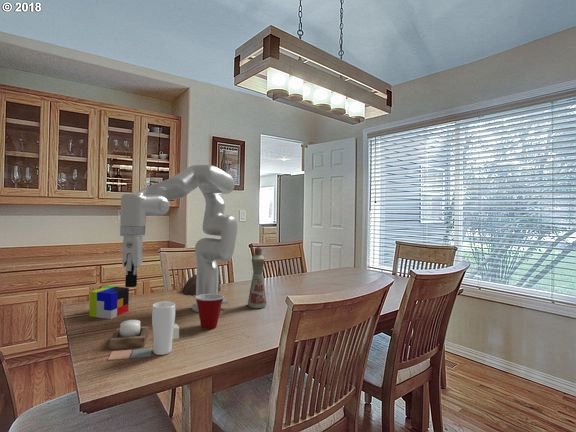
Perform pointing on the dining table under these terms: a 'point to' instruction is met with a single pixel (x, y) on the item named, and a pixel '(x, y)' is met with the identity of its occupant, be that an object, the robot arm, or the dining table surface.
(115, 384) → the dining table surface
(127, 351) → the pad
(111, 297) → the puzzle toy
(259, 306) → the bottle
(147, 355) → the pad mid
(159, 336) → the drinking glass
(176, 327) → the white cube
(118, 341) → the button frame
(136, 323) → the dome button
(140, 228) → the robot arm
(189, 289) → the decorative dome
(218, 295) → the plastic cup
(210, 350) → the dining table surface
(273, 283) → the dining table surface
